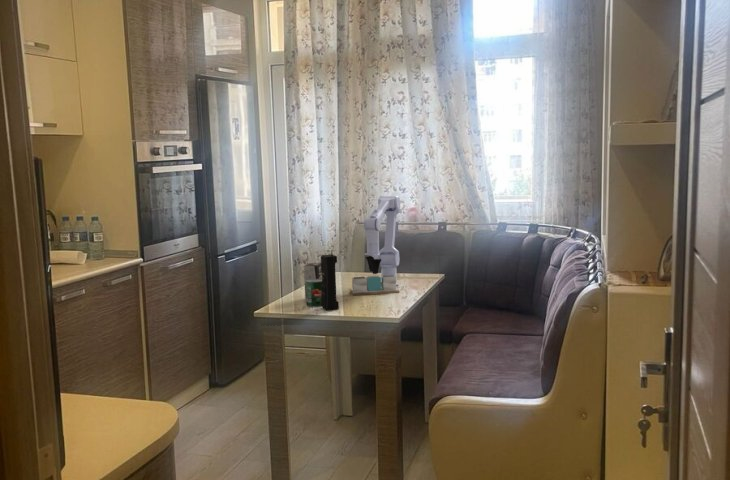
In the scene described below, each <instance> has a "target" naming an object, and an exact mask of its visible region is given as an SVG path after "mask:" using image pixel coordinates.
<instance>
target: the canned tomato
mask: <svg viewBox="0 0 730 480" xmlns="http://www.w3.org/2000/svg"><path fill="white" fill-rule="evenodd" d="M321 283H322V279H308V280H304V286H305V285H306V301H305V302H306V304H305V305H306V307H307V308H308V307H309V308H318V307H321Z"/></svg>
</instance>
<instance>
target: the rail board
mask: <svg viewBox="0 0 730 480" xmlns="http://www.w3.org/2000/svg"><path fill="white" fill-rule="evenodd" d="M396 276H397V275H396ZM396 276H394V275H383V276H380V277H381V280H382V285H381V290H377V291H368V290H367V280H366V276H354V277H352V278H351V280H352V281H351V283H352V284H351V286H352V289H351V290H349V293H350V294H351V295H352V296H353V297H355V296H365V295H366V296H370V295H381V294H395V293H397V294H398V293H400V289H398V288H397V285H396Z"/></svg>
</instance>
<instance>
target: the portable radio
mask: <svg viewBox="0 0 730 480" xmlns="http://www.w3.org/2000/svg"><path fill="white" fill-rule="evenodd" d="M320 263H321V274H322V283H321V306H320V307H321V308H322V309H323V310H325V311H327V312H328V311H336V310H339V309H340V304H339V301H338V299H337V280H336V279H337V277H336V275H337V274H336V264H337V263H338V256H337V255H335V254H333V249H332V250H331V254H321V256H320Z"/></svg>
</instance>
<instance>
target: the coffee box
mask: <svg viewBox="0 0 730 480" xmlns="http://www.w3.org/2000/svg"><path fill="white" fill-rule="evenodd" d="M303 271H304V273H303V274H304V275H303V276H304V280H303V281H305V280H308V279H322V274H321V262H313V263H311V262H309V263H307V264H305V265H304V266H303ZM304 300H305V302H306V285H305V284H304Z"/></svg>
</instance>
